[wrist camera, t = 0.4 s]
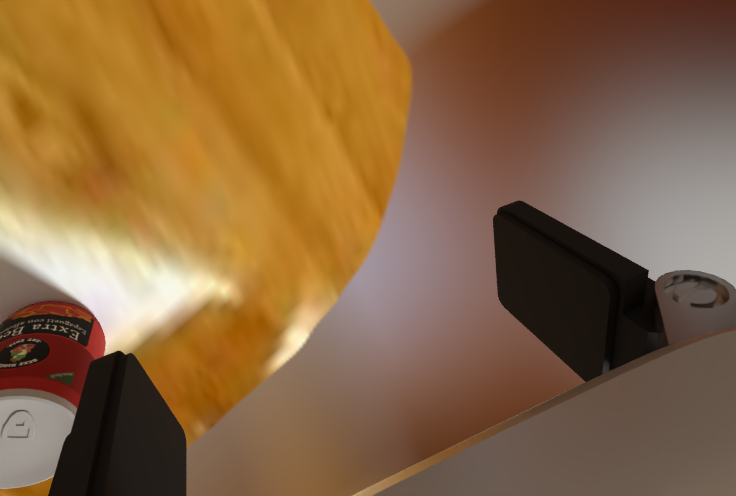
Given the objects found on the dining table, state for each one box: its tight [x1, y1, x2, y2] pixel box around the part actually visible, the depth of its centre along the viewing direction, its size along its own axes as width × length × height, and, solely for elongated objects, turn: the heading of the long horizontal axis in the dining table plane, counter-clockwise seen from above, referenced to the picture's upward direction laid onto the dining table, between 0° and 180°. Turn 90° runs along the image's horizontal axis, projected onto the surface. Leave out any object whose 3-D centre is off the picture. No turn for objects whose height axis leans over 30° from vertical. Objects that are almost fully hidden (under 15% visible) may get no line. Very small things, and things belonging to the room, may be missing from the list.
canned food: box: [0, 301, 106, 489], centre depth 33 cm, size 8×8×11 cm
